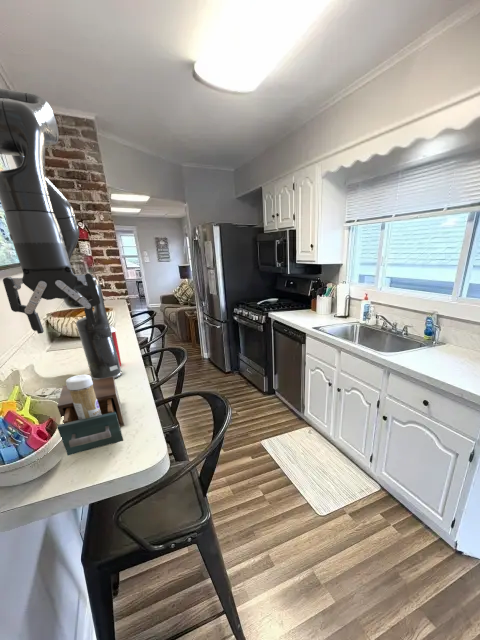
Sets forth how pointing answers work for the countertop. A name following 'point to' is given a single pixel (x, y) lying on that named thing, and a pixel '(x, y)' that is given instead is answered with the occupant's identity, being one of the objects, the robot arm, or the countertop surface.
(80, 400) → the sprinkles bottle
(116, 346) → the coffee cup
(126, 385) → the countertop surface
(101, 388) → the cabinet
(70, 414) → the drawer
